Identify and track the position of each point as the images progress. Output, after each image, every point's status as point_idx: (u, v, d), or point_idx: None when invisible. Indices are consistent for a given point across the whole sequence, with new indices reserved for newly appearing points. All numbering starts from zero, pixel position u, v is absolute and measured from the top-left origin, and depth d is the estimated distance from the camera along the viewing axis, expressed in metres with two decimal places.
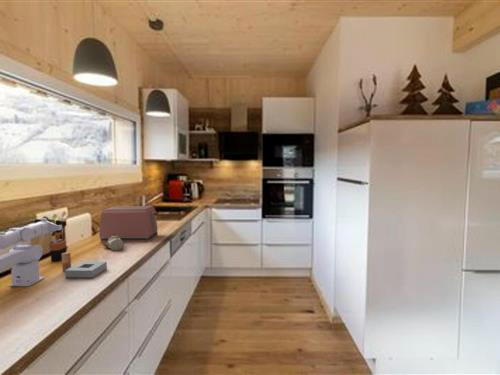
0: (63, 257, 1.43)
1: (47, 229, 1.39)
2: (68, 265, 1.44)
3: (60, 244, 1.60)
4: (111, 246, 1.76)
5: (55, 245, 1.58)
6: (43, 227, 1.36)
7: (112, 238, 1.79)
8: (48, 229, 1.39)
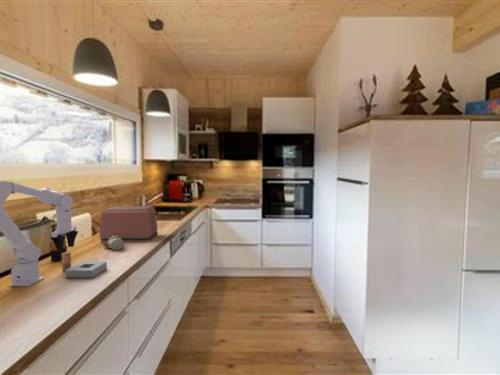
0: (63, 257, 1.43)
1: (59, 227, 1.41)
2: (68, 265, 1.44)
3: None
4: (112, 246, 1.76)
5: None
6: (62, 222, 1.41)
7: (112, 238, 1.79)
8: (58, 228, 1.41)
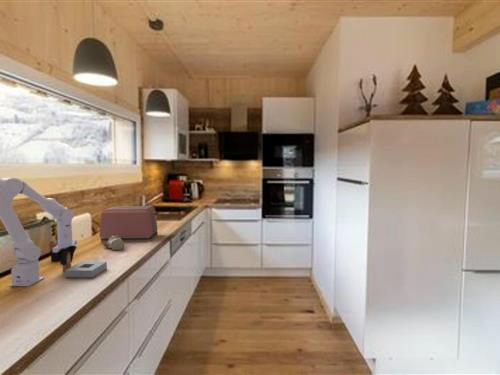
0: None
1: (60, 242, 1.41)
2: (68, 265, 1.44)
3: None
4: (112, 246, 1.76)
5: (55, 245, 1.58)
6: (62, 237, 1.41)
7: (112, 238, 1.79)
8: (59, 243, 1.42)
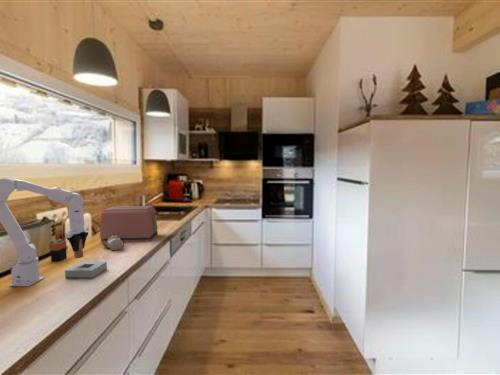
0: None
1: (72, 227, 1.38)
2: (80, 252, 1.40)
3: (60, 244, 1.60)
4: (110, 246, 1.76)
5: (55, 245, 1.58)
6: (75, 222, 1.38)
7: (112, 238, 1.79)
8: (72, 229, 1.38)
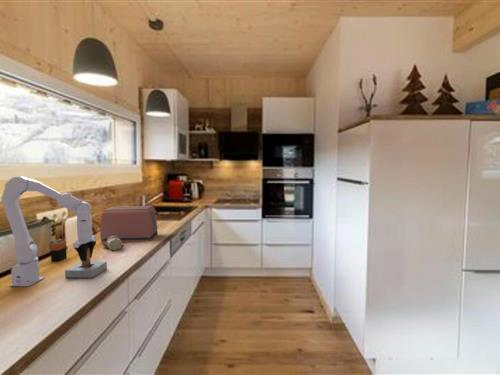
0: None
1: (80, 237, 1.36)
2: (87, 261, 1.39)
3: (60, 244, 1.60)
4: (110, 246, 1.76)
5: (55, 245, 1.58)
6: (82, 232, 1.36)
7: (111, 238, 1.79)
8: (79, 238, 1.36)
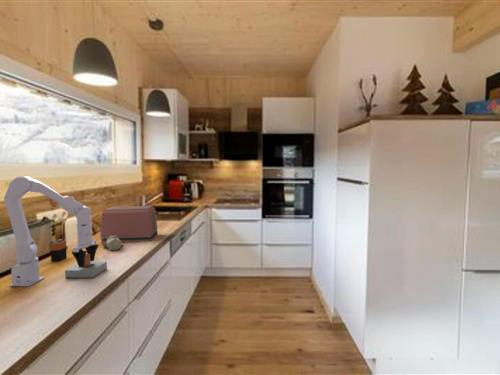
0: None
1: (80, 241, 1.37)
2: (88, 267, 1.39)
3: (60, 244, 1.60)
4: (109, 246, 1.76)
5: (55, 245, 1.58)
6: (83, 236, 1.36)
7: (110, 238, 1.79)
8: (80, 243, 1.37)
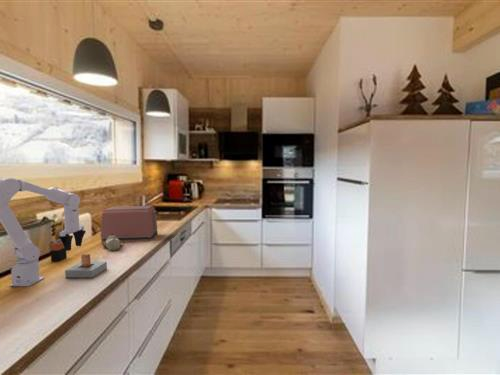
0: (83, 259, 1.38)
1: (67, 226, 1.43)
2: (88, 267, 1.39)
3: (60, 244, 1.60)
4: (108, 246, 1.76)
5: (55, 245, 1.58)
6: (69, 221, 1.42)
7: (109, 238, 1.79)
8: (66, 228, 1.43)
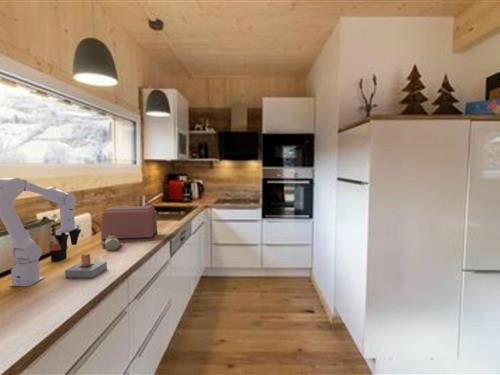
0: (83, 259, 1.38)
1: (62, 225, 1.45)
2: (88, 267, 1.39)
3: None
4: (106, 246, 1.76)
5: (55, 245, 1.58)
6: (65, 221, 1.45)
7: (109, 238, 1.79)
8: (62, 227, 1.45)
